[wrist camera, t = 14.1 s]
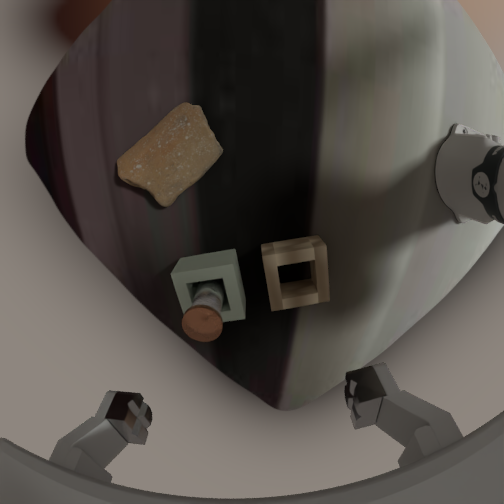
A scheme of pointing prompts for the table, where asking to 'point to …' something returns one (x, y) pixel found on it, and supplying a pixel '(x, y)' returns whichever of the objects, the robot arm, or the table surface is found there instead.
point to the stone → (171, 155)
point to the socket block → (208, 269)
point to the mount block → (302, 289)
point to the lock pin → (205, 312)
